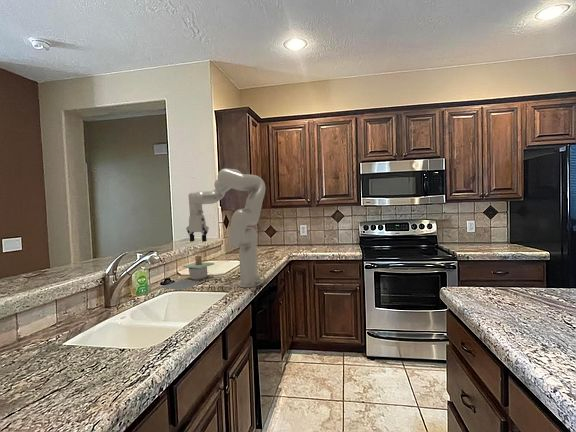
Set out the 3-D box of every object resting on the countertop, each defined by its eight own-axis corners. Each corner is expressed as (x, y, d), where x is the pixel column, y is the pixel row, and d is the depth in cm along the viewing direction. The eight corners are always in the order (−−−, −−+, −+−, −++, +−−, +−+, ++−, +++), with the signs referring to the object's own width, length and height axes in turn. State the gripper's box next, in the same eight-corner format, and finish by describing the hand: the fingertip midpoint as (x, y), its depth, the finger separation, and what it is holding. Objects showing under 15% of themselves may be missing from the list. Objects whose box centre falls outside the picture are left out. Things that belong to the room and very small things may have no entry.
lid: (214, 264, 204) (213, 254, 203) (199, 268, 192) (198, 258, 192) (198, 263, 210) (197, 254, 210) (182, 267, 198) (182, 257, 198)
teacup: (202, 281, 193) (202, 268, 193) (185, 281, 196) (185, 268, 195) (212, 276, 207) (212, 263, 207) (196, 276, 209) (196, 263, 209)
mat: (203, 283, 189) (203, 282, 189) (180, 291, 174) (180, 290, 174) (181, 281, 197) (181, 280, 197) (158, 288, 182) (158, 287, 182)
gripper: (211, 212, 199) (213, 240, 199) (190, 213, 207) (192, 240, 207) (202, 213, 192) (204, 242, 193) (181, 214, 200) (183, 242, 201)
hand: (198, 241), depth 200 cm, fingers open, 9 cm apart
